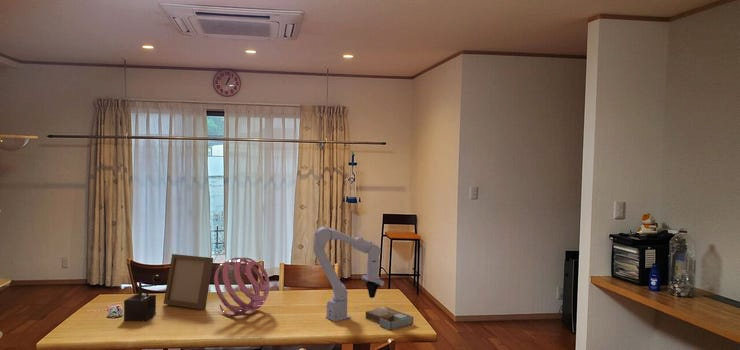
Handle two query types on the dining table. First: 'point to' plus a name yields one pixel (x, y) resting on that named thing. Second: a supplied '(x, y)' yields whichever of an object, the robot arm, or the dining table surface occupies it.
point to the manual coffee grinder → (141, 304)
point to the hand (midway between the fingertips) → (372, 297)
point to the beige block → (380, 311)
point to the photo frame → (188, 281)
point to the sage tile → (399, 317)
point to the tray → (396, 323)
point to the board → (389, 317)
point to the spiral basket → (243, 286)
